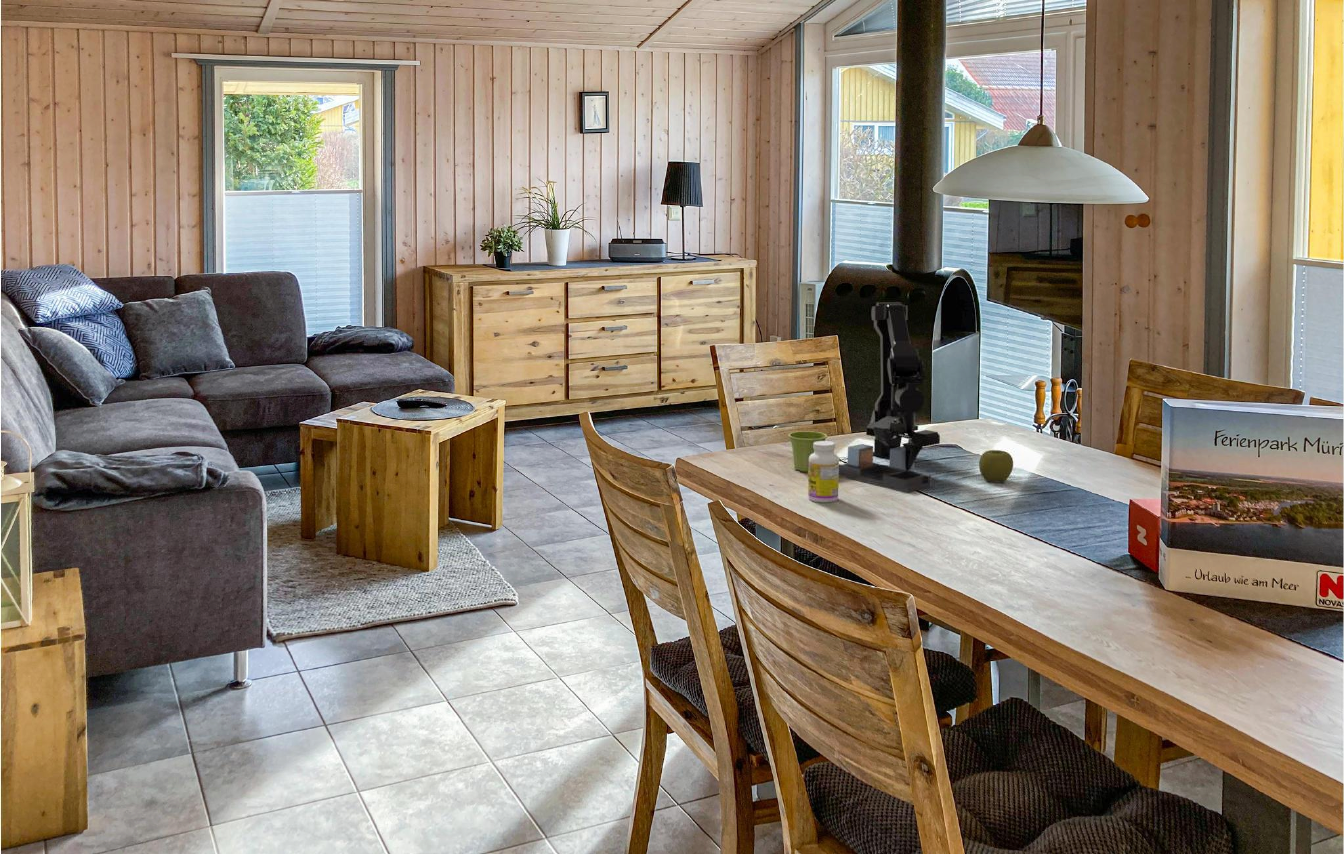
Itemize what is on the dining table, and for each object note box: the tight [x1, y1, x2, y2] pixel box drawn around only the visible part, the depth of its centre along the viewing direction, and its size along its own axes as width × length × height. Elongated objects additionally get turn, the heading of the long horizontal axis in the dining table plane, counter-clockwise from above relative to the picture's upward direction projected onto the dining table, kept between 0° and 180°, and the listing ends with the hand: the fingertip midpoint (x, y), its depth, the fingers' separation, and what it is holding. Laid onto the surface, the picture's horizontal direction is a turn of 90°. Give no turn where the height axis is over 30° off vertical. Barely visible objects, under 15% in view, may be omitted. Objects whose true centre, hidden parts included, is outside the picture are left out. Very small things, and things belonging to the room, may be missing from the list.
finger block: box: [889, 445, 915, 472], centre depth 290 cm, size 5×4×6 cm
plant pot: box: [788, 430, 828, 473], centre depth 294 cm, size 9×9×9 cm
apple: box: [978, 449, 1014, 483], centre depth 281 cm, size 8×8×7 cm
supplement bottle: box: [807, 440, 840, 504], centre depth 265 cm, size 7×7×13 cm
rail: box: [839, 443, 932, 493], centre depth 281 cm, size 8×22×7 cm, turn 38°
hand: (901, 468), depth 290 cm, fingers closed on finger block, 4 cm apart
